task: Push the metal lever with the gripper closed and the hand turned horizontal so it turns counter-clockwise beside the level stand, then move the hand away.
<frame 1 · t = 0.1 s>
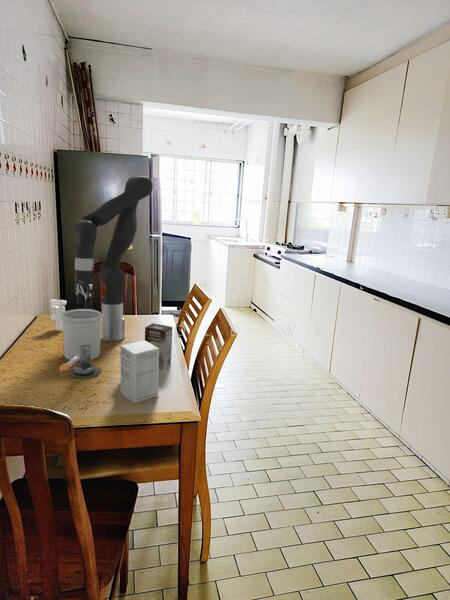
hand: (83, 306, 167), 17 cm above the table, tool pointing down, fingers open, 8 cm apart
supplement box: (139, 395, 129), on the table
level stand: (134, 381, 138), on the table
utensil holder: (82, 355, 158), on the table
metal lever: (76, 366, 133), point 5 cm above the table, hinge at 0.0°
coffee box: (157, 366, 153), on the table
base plate: (85, 372, 142), on the table
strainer: (59, 329, 187), on the table
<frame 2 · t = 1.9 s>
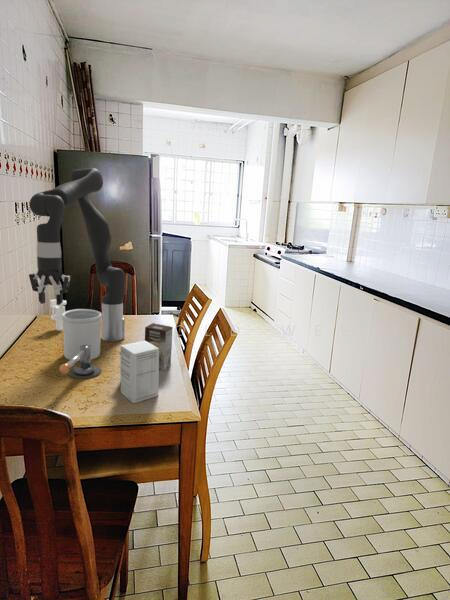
hand: (51, 303, 136), 25 cm above the table, tool pointing down, fingers open, 5 cm apart
nothing on the table moved.
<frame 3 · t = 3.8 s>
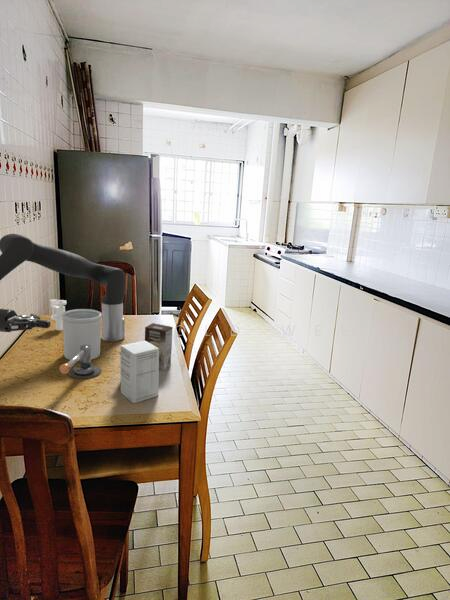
hand: (49, 324, 128), 21 cm above the table, tool horizontal, fingers closed
nothing on the table moved.
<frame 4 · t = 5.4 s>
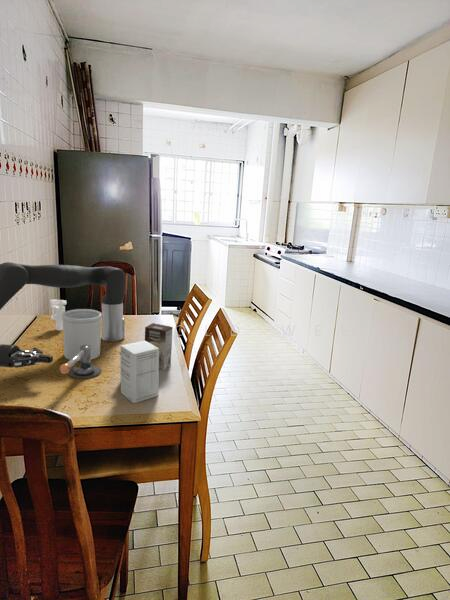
hand: (51, 359, 131), 8 cm above the table, tool horizontal, fingers closed
nothing on the table moved.
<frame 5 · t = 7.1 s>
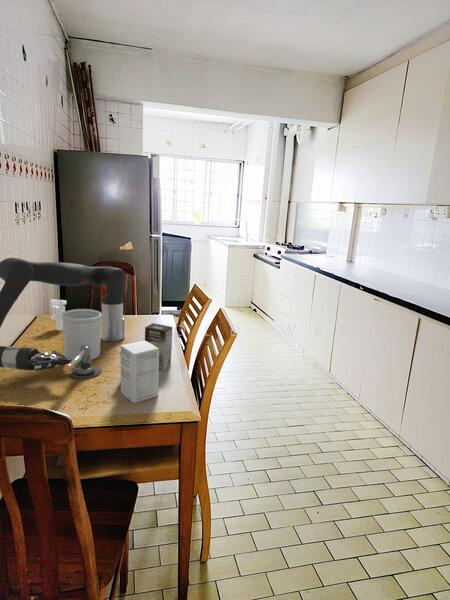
hand: (71, 362, 130), 8 cm above the table, tool horizontal, fingers closed
metal lever: (77, 367, 133), point 5 cm above the table, hinge at 3.7°, touching gripper
everything else where it was.
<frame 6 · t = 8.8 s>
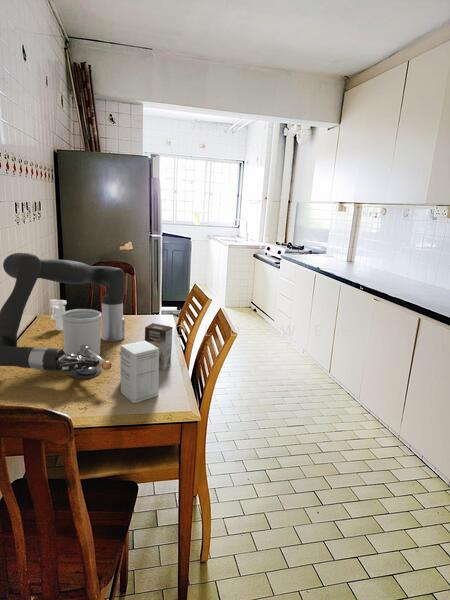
hand: (97, 363, 130), 8 cm above the table, tool horizontal, fingers closed
metal lever: (95, 365, 136), point 5 cm above the table, hinge at 45.4°, touching gripper
everything else where it was.
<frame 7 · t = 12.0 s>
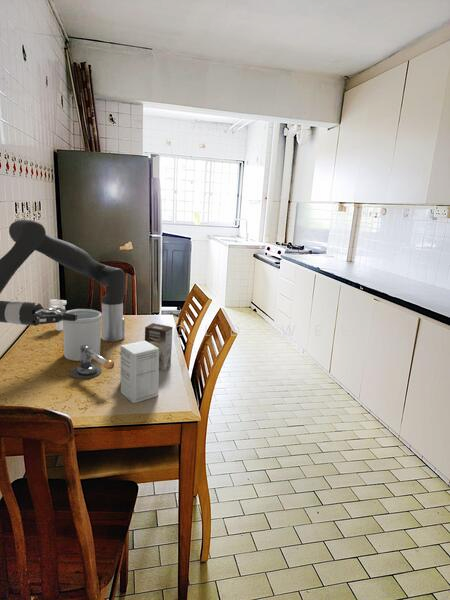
hand: (76, 317, 127), 24 cm above the table, tool horizontal, fingers closed
metal lever: (96, 365, 136), point 5 cm above the table, hinge at 48.6°
everything else where it was.
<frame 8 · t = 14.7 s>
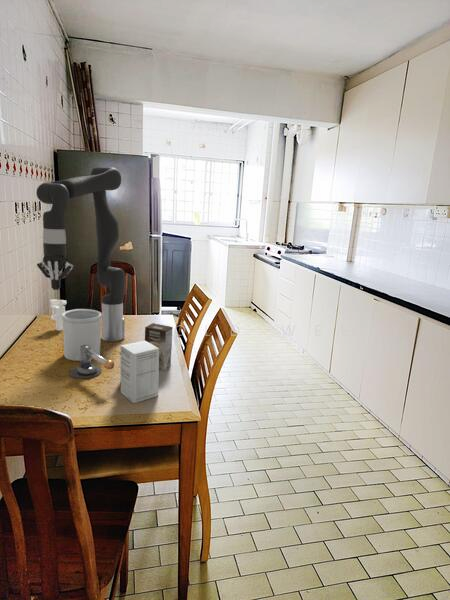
hand: (56, 289, 142), 29 cm above the table, tool pointing down, fingers closed
nothing on the table moved.
at the end: metal lever at +49° (first picture: +0°) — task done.
